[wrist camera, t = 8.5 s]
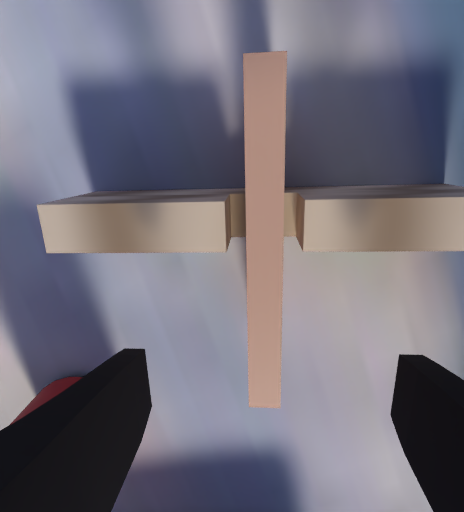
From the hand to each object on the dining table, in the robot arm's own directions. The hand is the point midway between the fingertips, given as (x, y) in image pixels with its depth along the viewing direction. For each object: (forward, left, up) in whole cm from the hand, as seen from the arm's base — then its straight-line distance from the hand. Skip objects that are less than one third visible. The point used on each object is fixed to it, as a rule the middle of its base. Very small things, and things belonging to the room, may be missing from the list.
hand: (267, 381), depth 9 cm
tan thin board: (0, -3, -9) cm, 10 cm away
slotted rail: (0, -4, -9) cm, 10 cm away
